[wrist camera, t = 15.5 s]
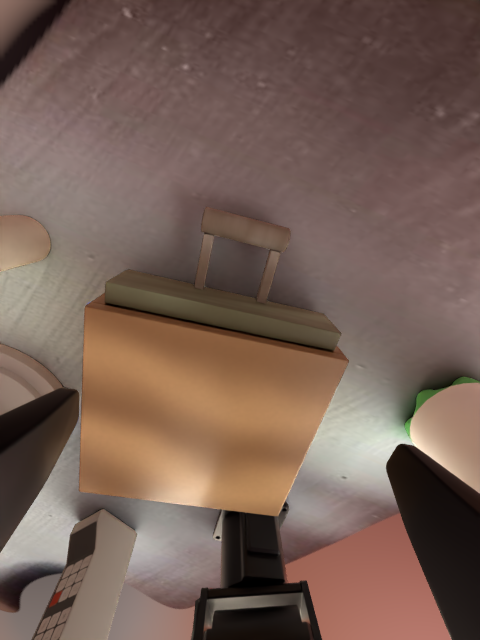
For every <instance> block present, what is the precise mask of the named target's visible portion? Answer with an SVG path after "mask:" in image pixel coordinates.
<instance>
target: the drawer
mask: <svg viewBox="0 0 480 640" xmlns="http://www.w3.org/2000/svg"><path fill="white" fill-rule="evenodd" d="M201 232H203V233H204V235H203V241H202V246H201V251H200V257H199V262H198V267H197V273H196V278H195V284H191V283H186V282H182V281H178V280H173V279H169V278H164V277H160V276H156V275H151V274H147V273H142V272H138V271H134V270H129V269H127V270H125V271H123V272H122V273H120V274H118V275H117V276H115V277H113V278H111V279H110V280H108V281H106V285H105V303H109V304H114V305H118V306H123V307H128V308H132V309H131V311H136V312H141V313H145V314H150V315H155V316H160V317H165V318H169V319H174V320H179V321H184V322H188V323H193V324H198V325H203V326H208V327H212V328H217V329H222V330H227V331H232V332H236V333H241V334H246V335H251V336H255V337H260V338H265V339H270V340H275V341H279V342H284V343H289V344H294V345H299V346H303V347H306V345H309V346H314V347H318V348H323V349H328V350H333V351H334V350H335V348H336V345H337V343H338V341H339V338H340V336H341V332H340V331H339V330H338V329H337V328H336V327H335V326H334V325H333V323H332V322H331V321H330V320H329V319H328V318H327V317H326V316H325V315H324V314H323V313H319V312H314V311H310V310H305V309H301V308H297V307H292V306H288V305H283V304H279V303H275V302H270V301H267V297H268V294H269V291H270V287H271V284H272V280H273V277H274V274H275V270H276V267H277V264H278V260H279V257H280V252H284V251H285V250H286V248H287V246H288V243H289V240H290V234H291V230H290V229H289V228H286V227H282V226H278V225H274V224H271V223H267V222H263V221H259V220H255V219H252V218H248V217H244V216H240V215H236V214H233V213H229V212H225V211H221V210H218V209H214V208H210V207H206V208H205V210H204V213H203V218H202V224H201ZM214 235H215V236H219V237H223V238H227V239H231V240H235V241H239V242H243V243H247V244H251V245H255V246H259V247H263V248H267V249H270V250H269V254H268V258H267V261H266V265H265V268H264V272H263V275H262V279H261V282H260V286H259V290H258V293H257V297H256V298H253V297H248V296H244V295H239V294H235V293H230V292H226V291H222V290H217V289H213V288H208V287H204V285H205V281H206V276H207V271H208V266H209V261H210V256H211V251H212V246H213V241H214Z"/></svg>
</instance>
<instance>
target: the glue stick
mask: <svg viewBox="0 0 480 640" xmlns="http://www.w3.org/2000/svg"><path fill="white" fill-rule="evenodd" d="M50 248H51V242H50V238H49V235H48V233H47V231H46V230H45V228H44V227H43V226H42V225H41V224H40V223H39V222H37V221H36V220H34V219H33V218H30V217H28V216H24V215H5V216H0V272H2V271H5V270H9V269H13V268H16V267H20V266H24V265H27V264H31V263H35V262H38V261H41V260H43V259H44V258H46V257H47V255H48V254H49V251H50Z"/></svg>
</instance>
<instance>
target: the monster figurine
mask: <svg viewBox="0 0 480 640" xmlns="http://www.w3.org/2000/svg"><path fill="white" fill-rule="evenodd" d="M58 388H63V386H62V385H61V383H60V382H59V381H58V380H57V379H56V377H55V376H54V375H53V374H52V373H51V372H50V371H49V370H47V369H46V368H45V367H44V366H43V365H41V364H40V363H39V362H37V361H36V360H34V359H33V358H31V357H30V356H28V355H26V354H24V353H22V352H20V351H18V350H16V349H13V348H11V347H8V346H5V345H3V344H0V415H2V414H4V413H6V412H8V411H10V410H13V409H15V408H17V407H19V406H21V405H23V404H26V403H28V402H30V401H32V400H34V399H36V398H39V397H41V396H43V395H45V394H47V393H49V392H52V391H54V390H56V389H58Z"/></svg>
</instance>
